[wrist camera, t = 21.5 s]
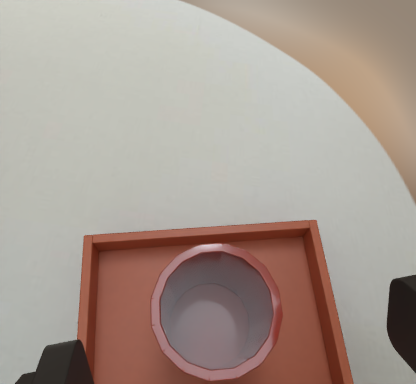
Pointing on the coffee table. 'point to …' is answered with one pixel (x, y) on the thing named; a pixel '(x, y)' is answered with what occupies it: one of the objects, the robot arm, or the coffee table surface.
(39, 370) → the robot arm
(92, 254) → the red tray
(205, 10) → the coffee table surface
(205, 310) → the red cup
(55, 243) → the coffee table surface
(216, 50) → the coffee table surface
